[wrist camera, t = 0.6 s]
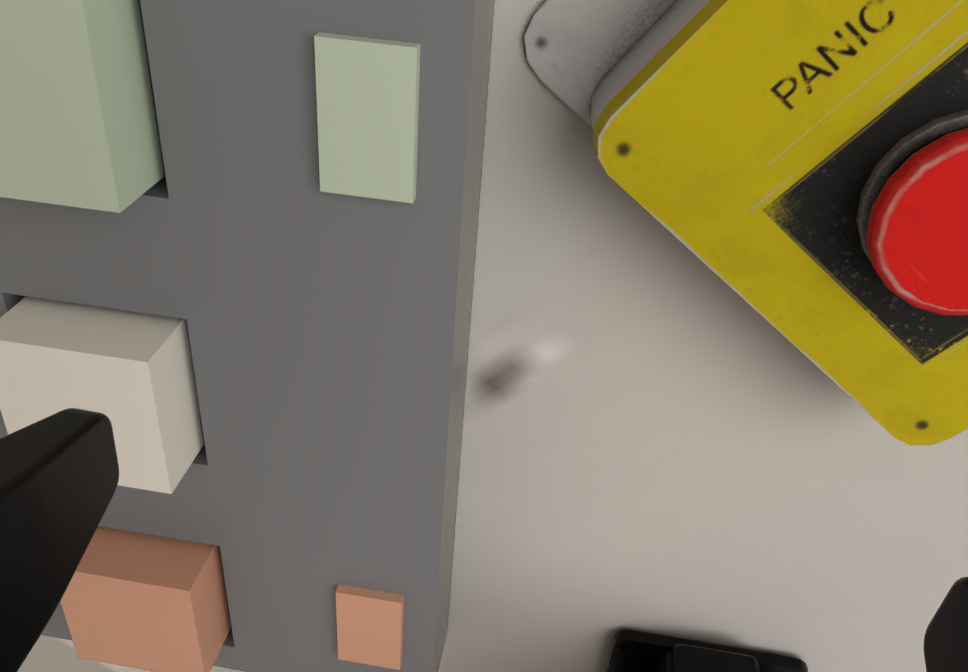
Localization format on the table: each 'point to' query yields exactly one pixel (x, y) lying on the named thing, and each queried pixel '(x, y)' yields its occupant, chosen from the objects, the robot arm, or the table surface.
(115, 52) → the sage key
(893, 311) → the emergency button
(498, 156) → the table surface
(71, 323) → the offwhite key
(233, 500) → the keypad
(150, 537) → the terracotta key
